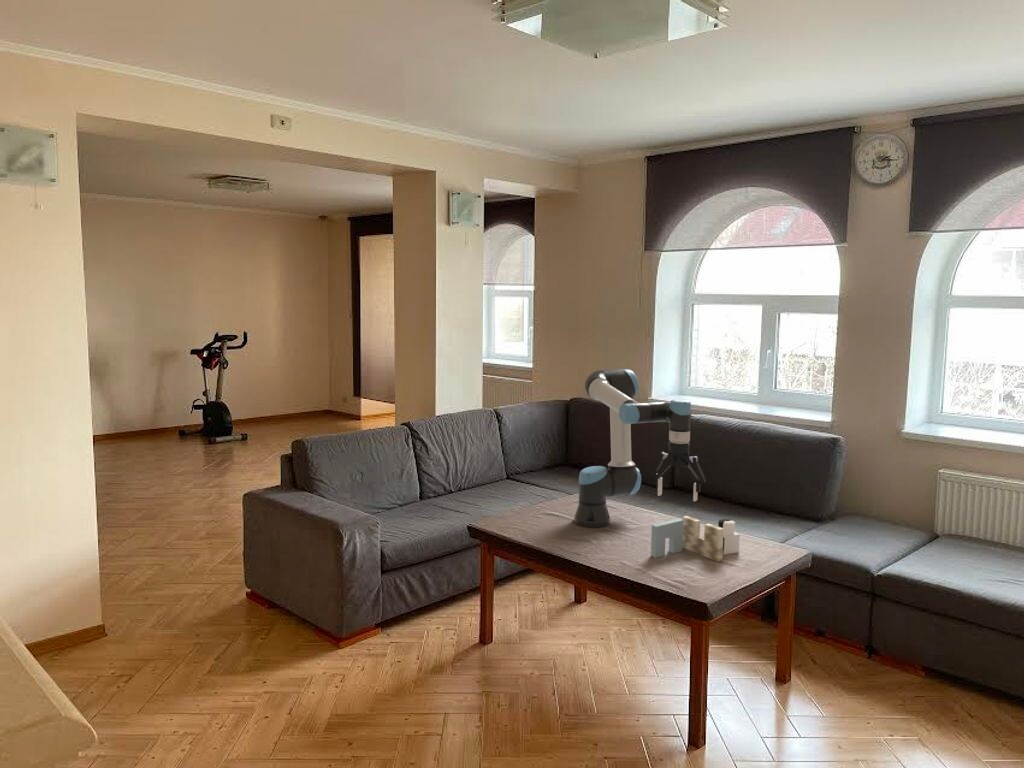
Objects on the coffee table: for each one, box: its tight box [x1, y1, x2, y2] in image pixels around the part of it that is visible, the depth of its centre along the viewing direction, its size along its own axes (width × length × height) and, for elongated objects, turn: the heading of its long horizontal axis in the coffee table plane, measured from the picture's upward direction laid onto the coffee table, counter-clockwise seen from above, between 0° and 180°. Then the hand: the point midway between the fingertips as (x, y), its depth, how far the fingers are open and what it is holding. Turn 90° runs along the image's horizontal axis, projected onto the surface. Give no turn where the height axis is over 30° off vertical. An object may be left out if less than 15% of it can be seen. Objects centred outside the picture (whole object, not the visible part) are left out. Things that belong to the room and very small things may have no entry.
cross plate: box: [650, 518, 683, 559], centre depth 277 cm, size 14×2×12 cm, turn 123°
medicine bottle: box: [717, 518, 741, 556], centre depth 281 cm, size 7×7×12 cm
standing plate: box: [681, 515, 724, 562], centre depth 278 cm, size 18×2×12 cm, turn 33°
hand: (677, 497), depth 275 cm, fingers open, 13 cm apart
